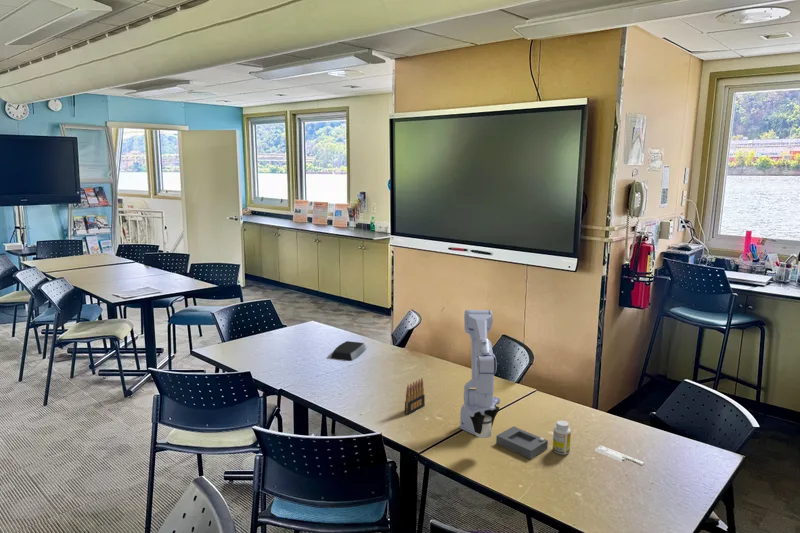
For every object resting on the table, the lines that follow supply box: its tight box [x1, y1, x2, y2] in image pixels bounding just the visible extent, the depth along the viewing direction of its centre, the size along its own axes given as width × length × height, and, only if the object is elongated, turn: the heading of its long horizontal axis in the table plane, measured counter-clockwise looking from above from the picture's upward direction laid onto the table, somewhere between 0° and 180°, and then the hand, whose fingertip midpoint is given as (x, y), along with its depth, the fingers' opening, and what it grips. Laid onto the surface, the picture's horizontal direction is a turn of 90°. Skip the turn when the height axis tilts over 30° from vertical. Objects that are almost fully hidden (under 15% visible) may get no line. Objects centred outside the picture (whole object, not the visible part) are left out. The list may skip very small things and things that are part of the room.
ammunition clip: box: [404, 377, 426, 416], centre depth 214 cm, size 11×2×12 cm, turn 141°
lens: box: [474, 414, 492, 439], centre depth 181 cm, size 5×5×6 cm
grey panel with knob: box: [495, 426, 549, 460], centre depth 188 cm, size 14×10×4 cm
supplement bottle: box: [552, 420, 572, 455], centre depth 184 cm, size 6×6×10 cm
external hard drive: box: [330, 340, 368, 362], centre depth 279 cm, size 13×19×4 cm
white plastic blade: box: [594, 445, 645, 466], centre depth 181 cm, size 5×15×1 cm, turn 43°
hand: (483, 429), depth 181 cm, fingers closed on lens, 5 cm apart
